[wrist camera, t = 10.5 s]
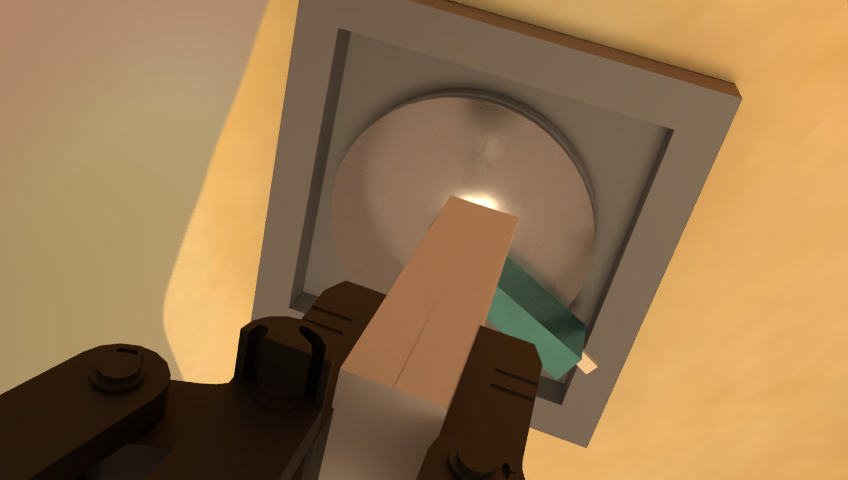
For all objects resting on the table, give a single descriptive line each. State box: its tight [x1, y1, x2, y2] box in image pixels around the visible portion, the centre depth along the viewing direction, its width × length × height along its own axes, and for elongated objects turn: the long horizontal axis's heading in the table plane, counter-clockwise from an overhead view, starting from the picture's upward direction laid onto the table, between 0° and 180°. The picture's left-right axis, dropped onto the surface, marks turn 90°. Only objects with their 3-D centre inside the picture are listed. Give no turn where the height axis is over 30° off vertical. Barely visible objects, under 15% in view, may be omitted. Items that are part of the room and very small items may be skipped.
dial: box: [330, 88, 597, 380], centre depth 44 cm, size 18×16×6 cm
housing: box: [251, 0, 742, 448], centre depth 46 cm, size 24×24×4 cm
